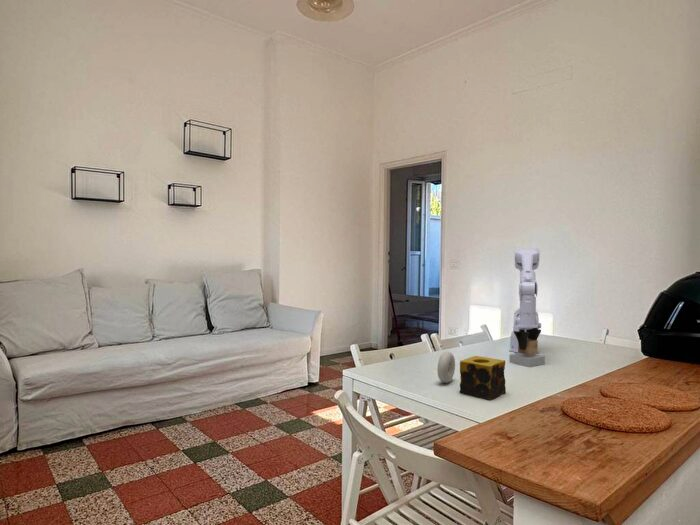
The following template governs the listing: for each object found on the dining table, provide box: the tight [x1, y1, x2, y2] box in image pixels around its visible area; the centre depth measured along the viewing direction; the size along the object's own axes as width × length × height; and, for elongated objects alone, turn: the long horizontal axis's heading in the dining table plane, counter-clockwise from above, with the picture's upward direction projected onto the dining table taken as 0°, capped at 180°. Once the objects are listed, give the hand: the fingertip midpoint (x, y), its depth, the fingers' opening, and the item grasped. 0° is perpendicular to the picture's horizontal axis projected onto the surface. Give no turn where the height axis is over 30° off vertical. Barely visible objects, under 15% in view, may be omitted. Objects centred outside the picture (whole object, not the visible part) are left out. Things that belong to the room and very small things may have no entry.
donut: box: [436, 351, 456, 384], centre depth 148 cm, size 10×4×10 cm, turn 148°
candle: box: [459, 355, 507, 401], centre depth 137 cm, size 10×10×10 cm
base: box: [509, 352, 546, 368], centre depth 174 cm, size 9×9×3 cm
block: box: [518, 339, 539, 355], centre depth 174 cm, size 5×5×5 cm
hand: (527, 348), depth 174 cm, fingers closed on block, 5 cm apart
